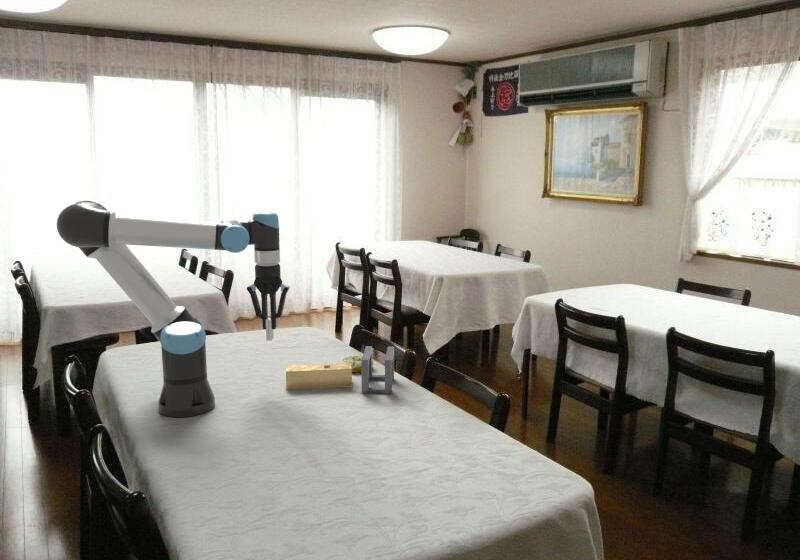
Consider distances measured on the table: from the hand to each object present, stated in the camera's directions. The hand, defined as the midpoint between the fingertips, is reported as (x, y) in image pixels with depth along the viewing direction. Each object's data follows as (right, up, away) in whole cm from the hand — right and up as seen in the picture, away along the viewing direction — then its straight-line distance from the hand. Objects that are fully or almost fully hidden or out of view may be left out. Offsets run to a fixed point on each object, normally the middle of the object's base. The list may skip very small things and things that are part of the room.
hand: (270, 339), depth 201 cm
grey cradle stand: (+33, -14, +1) cm, 36 cm away
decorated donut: (+26, -12, +18) cm, 34 cm away
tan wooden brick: (+15, -15, +2) cm, 21 cm away
